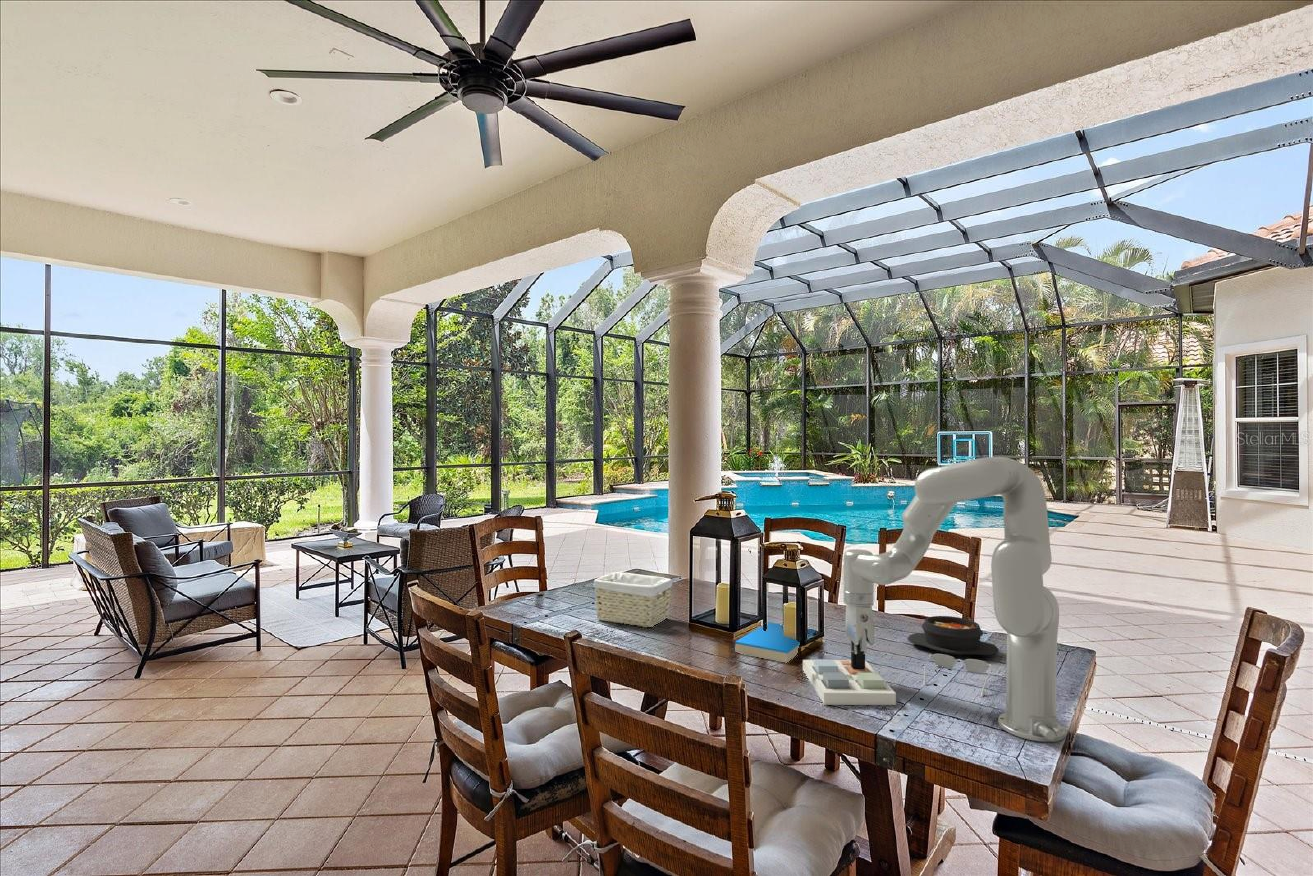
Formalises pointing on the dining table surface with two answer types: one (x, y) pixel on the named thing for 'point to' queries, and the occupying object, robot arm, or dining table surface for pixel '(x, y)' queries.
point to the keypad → (854, 693)
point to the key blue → (825, 666)
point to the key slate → (835, 680)
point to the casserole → (952, 636)
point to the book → (769, 643)
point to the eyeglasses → (969, 664)
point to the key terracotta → (857, 670)
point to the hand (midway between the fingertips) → (858, 668)
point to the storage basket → (632, 598)
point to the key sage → (870, 681)
